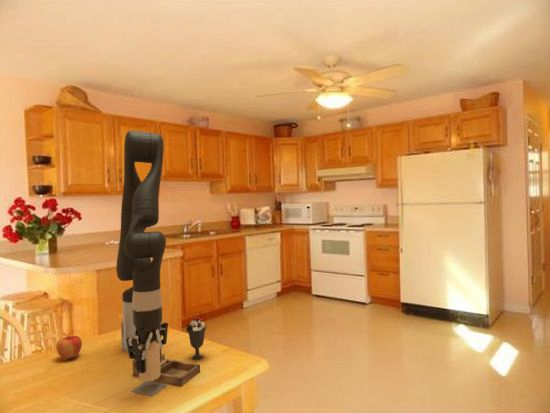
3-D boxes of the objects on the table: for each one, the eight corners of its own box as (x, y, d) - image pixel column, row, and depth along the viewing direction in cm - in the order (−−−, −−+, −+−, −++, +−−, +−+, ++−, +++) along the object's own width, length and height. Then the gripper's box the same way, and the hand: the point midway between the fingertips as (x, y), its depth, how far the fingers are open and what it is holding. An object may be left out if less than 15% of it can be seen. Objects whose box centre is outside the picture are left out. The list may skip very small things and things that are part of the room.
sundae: (210, 354, 125) (209, 309, 125) (204, 363, 119) (203, 316, 118) (190, 354, 126) (189, 309, 125) (184, 363, 119) (182, 315, 119)
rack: (133, 377, 111) (132, 360, 110) (154, 364, 119) (153, 348, 119) (181, 387, 104) (180, 369, 104) (200, 373, 112) (199, 356, 112)
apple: (55, 364, 120) (54, 339, 120) (58, 355, 127) (57, 332, 126) (81, 360, 123) (80, 335, 123) (82, 351, 130) (81, 328, 129)
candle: (164, 373, 105) (163, 337, 105) (152, 383, 100) (151, 345, 99) (147, 371, 107) (146, 335, 106) (134, 380, 101) (133, 343, 101)
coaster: (131, 393, 102) (131, 390, 102) (147, 382, 107) (147, 380, 107) (152, 397, 99) (152, 395, 99) (167, 387, 105) (167, 384, 105)
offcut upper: (143, 366, 111) (143, 360, 111) (153, 358, 116) (153, 353, 116) (155, 367, 110) (155, 361, 110) (164, 360, 115) (164, 354, 115)
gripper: (154, 297, 111) (156, 354, 111) (116, 312, 97) (118, 377, 98) (175, 299, 108) (177, 358, 108) (139, 315, 94) (141, 382, 95)
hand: (149, 367), depth 103 cm, fingers closed on candle, 5 cm apart
